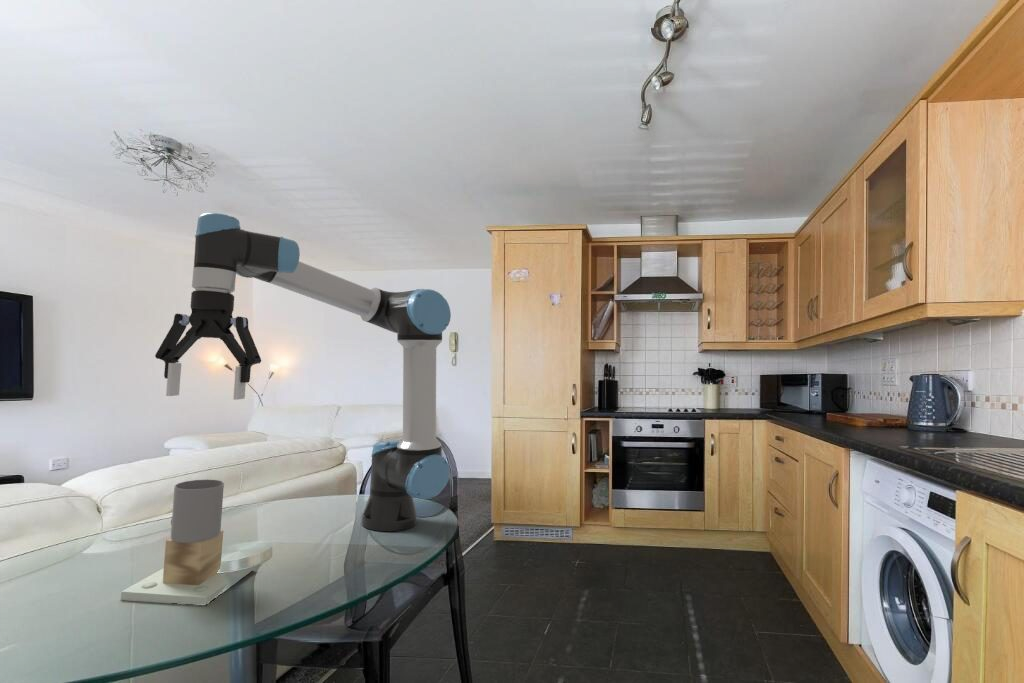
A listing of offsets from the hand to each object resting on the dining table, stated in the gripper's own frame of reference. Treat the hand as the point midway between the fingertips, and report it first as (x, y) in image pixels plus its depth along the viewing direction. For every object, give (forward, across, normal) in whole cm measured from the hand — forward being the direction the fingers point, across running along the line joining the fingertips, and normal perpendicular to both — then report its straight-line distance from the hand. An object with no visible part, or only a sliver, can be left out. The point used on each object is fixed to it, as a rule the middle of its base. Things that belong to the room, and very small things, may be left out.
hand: (205, 397), depth 104 cm
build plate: (+37, 0, 0) cm, 37 cm away
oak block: (+35, 0, 0) cm, 35 cm away
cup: (+27, 0, 0) cm, 27 cm away
